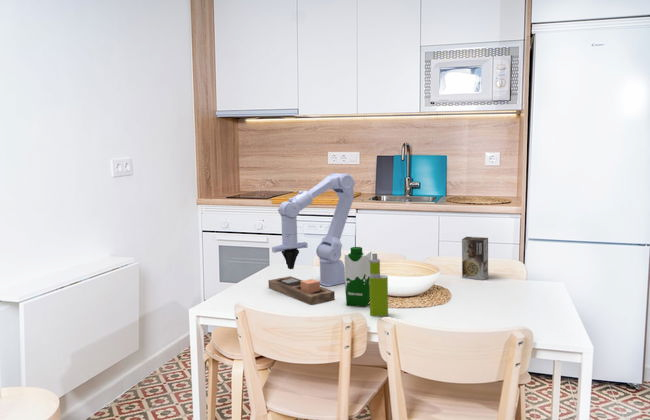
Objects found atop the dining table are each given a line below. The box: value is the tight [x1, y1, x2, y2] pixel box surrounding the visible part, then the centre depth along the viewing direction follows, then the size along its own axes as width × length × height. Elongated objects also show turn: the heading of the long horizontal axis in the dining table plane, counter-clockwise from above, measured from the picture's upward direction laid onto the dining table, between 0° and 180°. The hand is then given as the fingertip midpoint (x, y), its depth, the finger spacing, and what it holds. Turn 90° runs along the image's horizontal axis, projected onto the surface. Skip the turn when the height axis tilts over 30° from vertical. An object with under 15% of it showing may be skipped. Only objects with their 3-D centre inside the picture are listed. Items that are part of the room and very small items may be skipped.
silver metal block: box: [281, 279, 299, 286], centre depth 216 cm, size 5×5×3 cm
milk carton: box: [344, 246, 372, 308], centre depth 195 cm, size 9×9×20 cm
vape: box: [369, 253, 389, 317], centre depth 182 cm, size 4×6×20 cm, turn 81°
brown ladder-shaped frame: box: [268, 276, 336, 306], centre depth 210 cm, size 10×30×3 cm, turn 35°
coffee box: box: [461, 236, 489, 281], centre depth 226 cm, size 9×6×16 cm
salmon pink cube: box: [301, 278, 321, 294], centre depth 204 cm, size 5×5×3 cm
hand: (290, 268), depth 214 cm, fingers closed
